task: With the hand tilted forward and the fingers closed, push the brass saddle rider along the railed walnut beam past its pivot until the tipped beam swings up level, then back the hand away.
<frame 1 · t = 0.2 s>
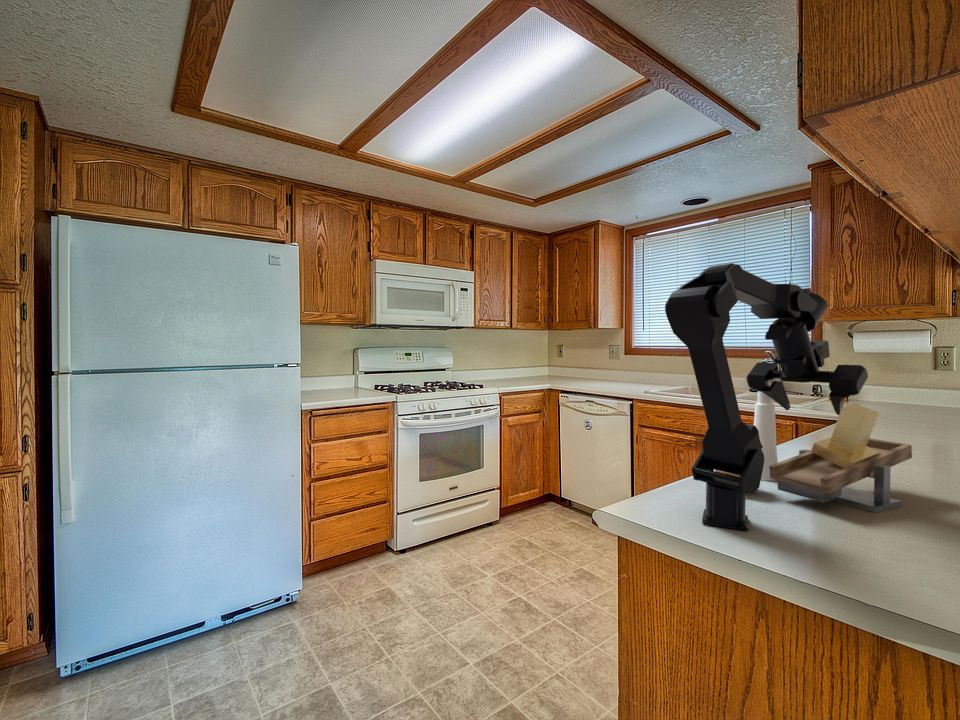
hand: (813, 411, 92), 16 cm above the table, tool tilted 35°, fingers open, 8 cm apart
cosmetic bottle: (763, 478, 101), on the table
rider: (843, 456, 88), point 8 cm above the table, tilted 21°, touching beam, gripper
fruit: (738, 491, 92), on the table
beam: (841, 466, 88), point 6 cm above the table, hinge at -8.0°, touching rider
beam stand: (840, 496, 88), on the table
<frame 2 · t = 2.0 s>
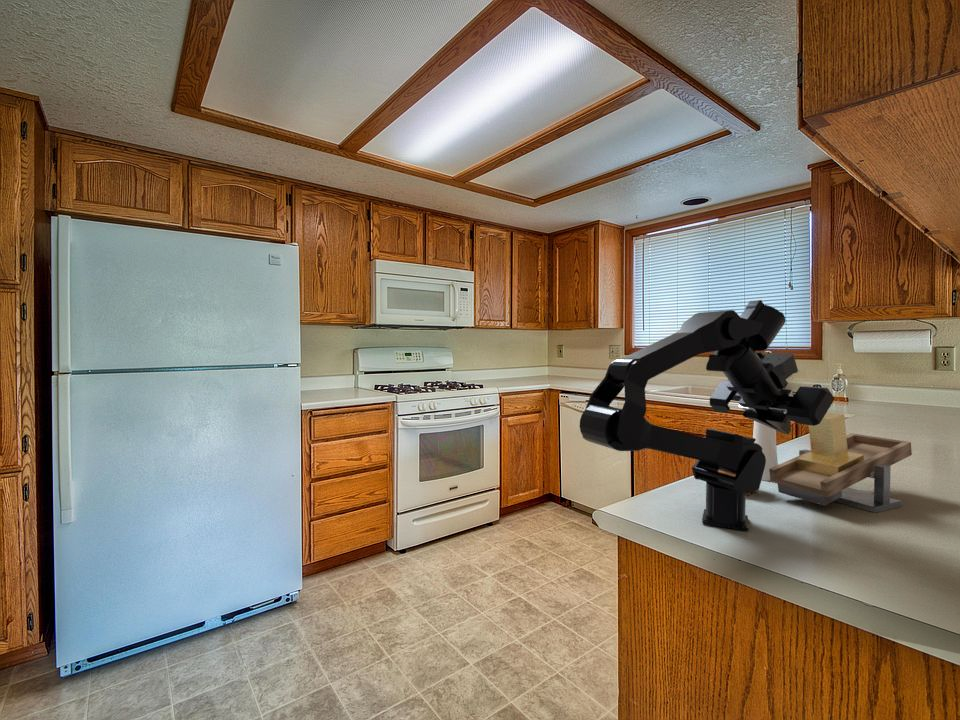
hand: (787, 432, 81), 14 cm above the table, tool tilted 45°, fingers closed
rider: (830, 466, 87), point 6 cm above the table, tilted 11°, touching beam
beam: (841, 466, 88), point 6 cm above the table, hinge at -10.5°, touching rider
everything else where it was.
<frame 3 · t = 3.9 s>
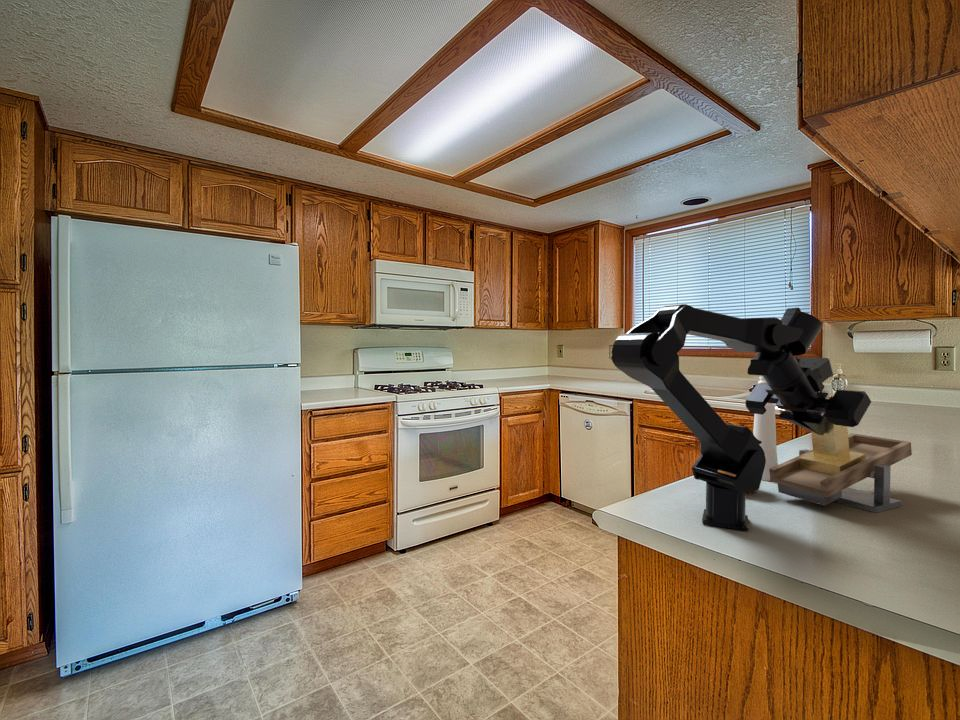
hand: (822, 433, 85), 13 cm above the table, tool tilted 45°, fingers closed, pressing on rider
rider: (832, 466, 87), point 6 cm above the table, tilted 10°, touching beam, gripper
everything else where it was.
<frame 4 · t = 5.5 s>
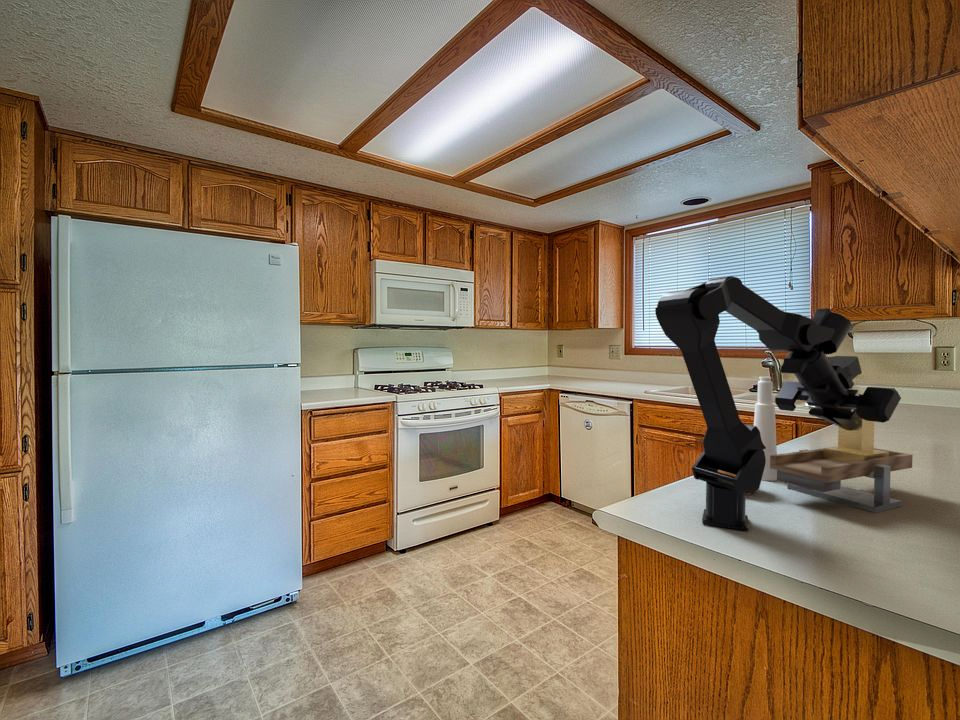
hand: (850, 428, 89), 13 cm above the table, tool tilted 45°, fingers closed
rider: (855, 460, 90), point 6 cm above the table, touching gripper
beam: (841, 466, 88), point 6 cm above the table, hinge at 0.6°
everything else where it was.
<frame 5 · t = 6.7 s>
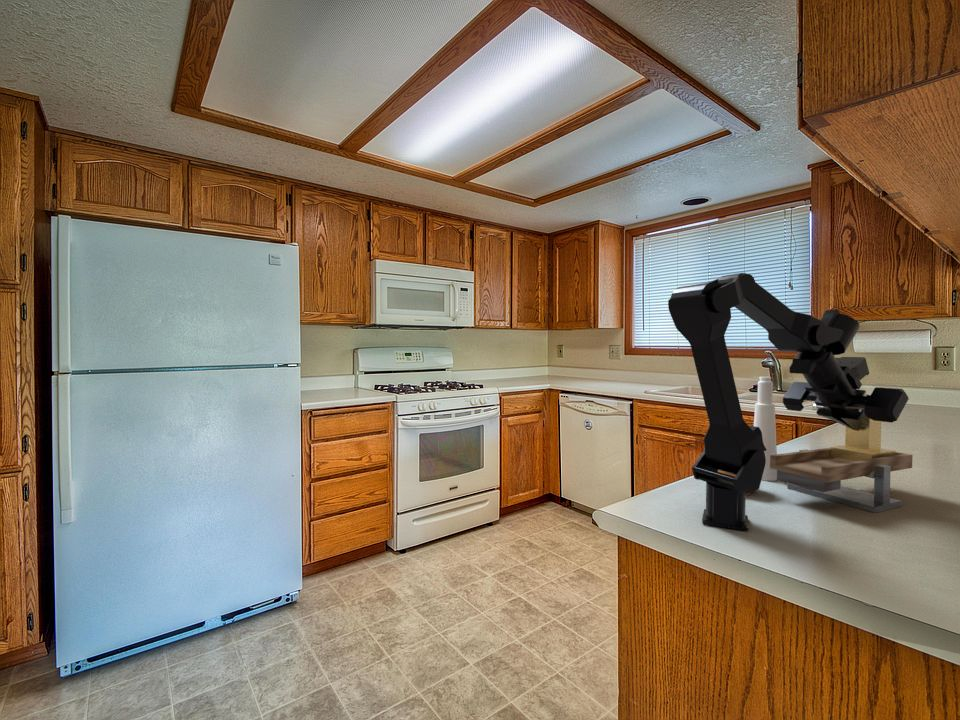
hand: (857, 428, 90), 13 cm above the table, tool tilted 45°, fingers closed, pressing on rider
rider: (862, 459, 91), point 6 cm above the table, touching beam, gripper
beam: (841, 466, 88), point 6 cm above the table, hinge at 0.7°, touching rider
everything else where it was.
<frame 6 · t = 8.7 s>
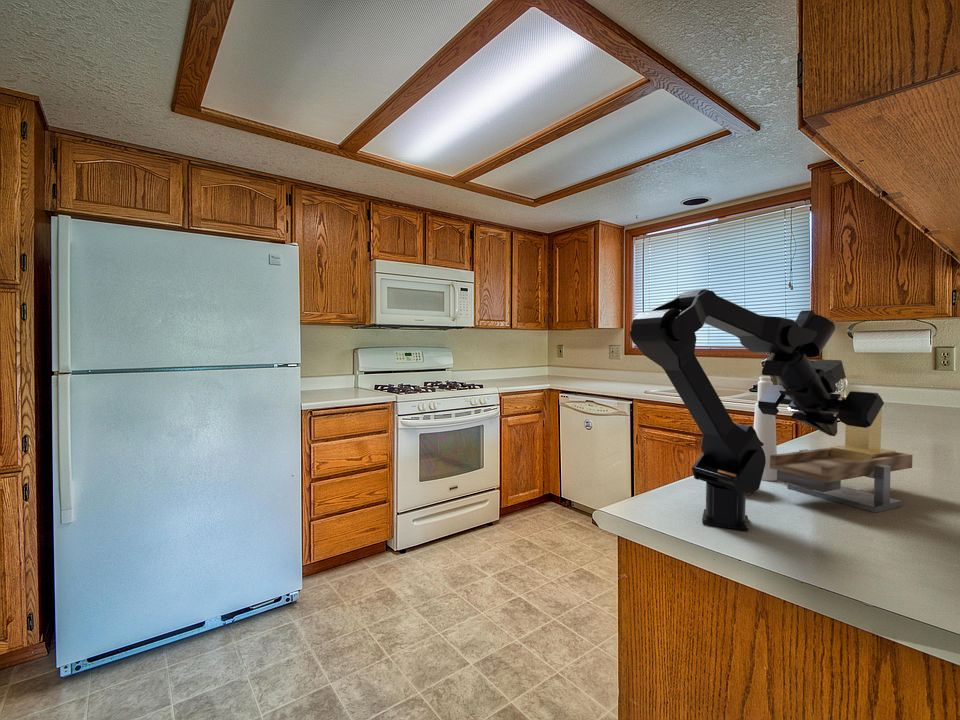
hand: (833, 434, 87), 12 cm above the table, tool tilted 45°, fingers closed
rider: (862, 459, 91), point 6 cm above the table, touching beam
everything else where it was.
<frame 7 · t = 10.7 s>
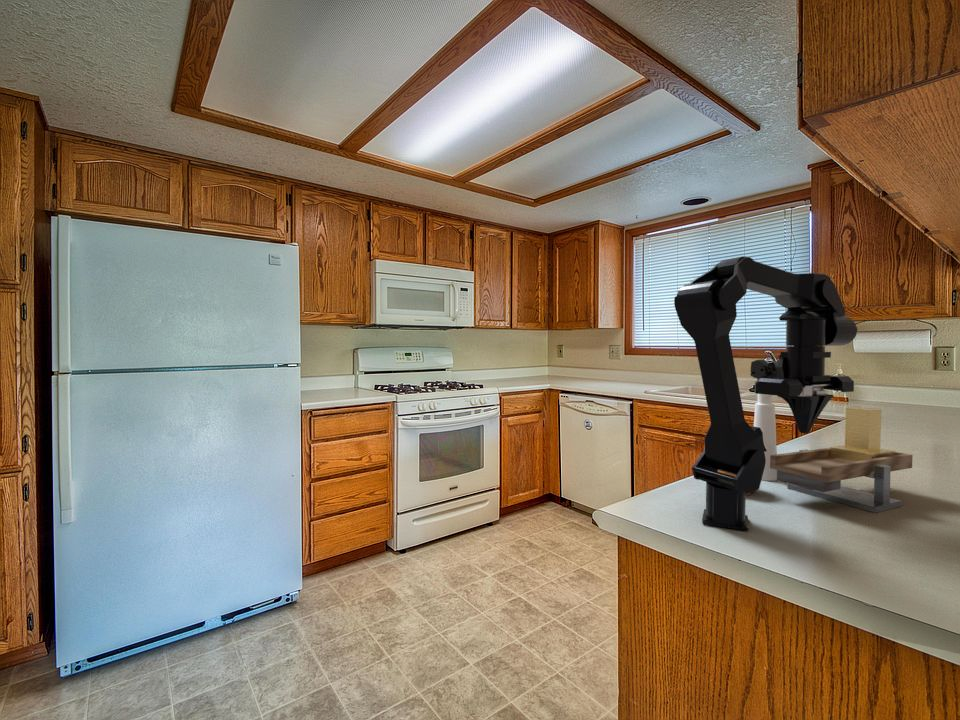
hand: (804, 432, 84), 13 cm above the table, tool pointing down, fingers closed
nothing on the table moved.
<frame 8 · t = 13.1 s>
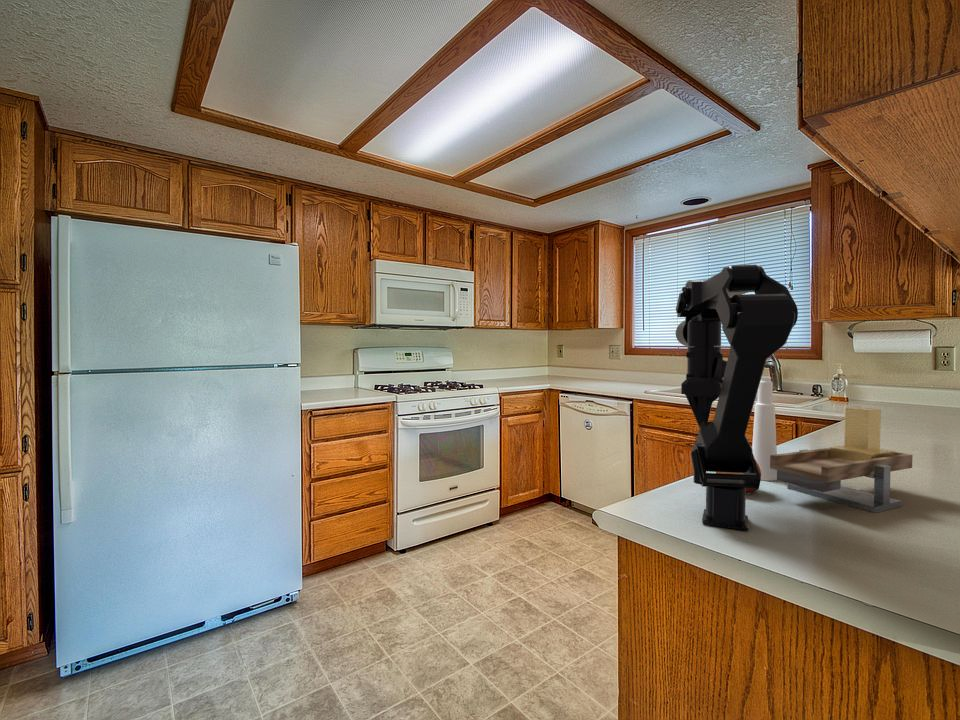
hand: (703, 429, 88), 13 cm above the table, tool pointing down, fingers closed
nothing on the table moved.
at the end: beam at +1° (first picture: -7°); rider 0.7 cm from the target spot on the beam, point 0.9 cm above the beam's base; rider tilted 1° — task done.
